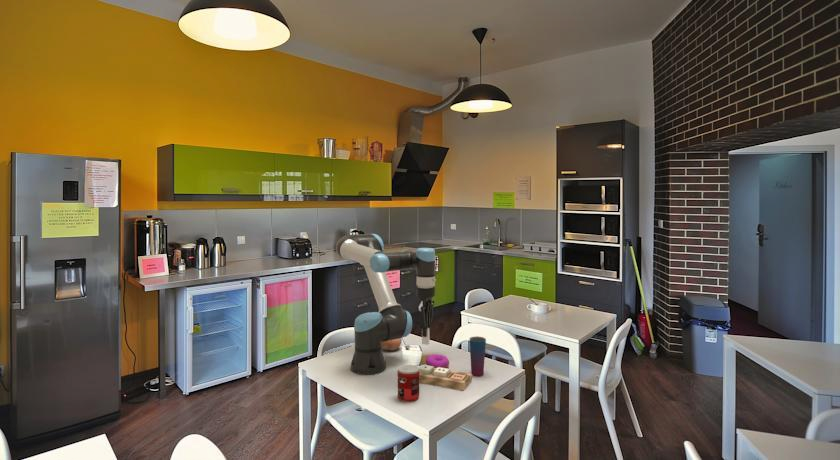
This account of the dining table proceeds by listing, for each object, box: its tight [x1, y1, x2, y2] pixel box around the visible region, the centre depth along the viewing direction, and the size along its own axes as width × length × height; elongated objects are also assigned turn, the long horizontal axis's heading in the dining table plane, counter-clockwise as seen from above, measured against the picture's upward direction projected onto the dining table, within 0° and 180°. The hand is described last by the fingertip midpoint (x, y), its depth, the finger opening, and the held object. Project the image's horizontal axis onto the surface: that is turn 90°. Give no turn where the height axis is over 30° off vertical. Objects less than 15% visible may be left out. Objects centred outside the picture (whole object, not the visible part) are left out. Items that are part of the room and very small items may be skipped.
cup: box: [469, 335, 487, 377], centre depth 187 cm, size 7×7×15 cm
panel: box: [419, 368, 473, 391], centre depth 180 cm, size 22×10×3 cm, turn 66°
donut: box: [425, 353, 450, 368], centre depth 196 cm, size 10×10×4 cm
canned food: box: [397, 364, 420, 403], centre depth 165 cm, size 8×8×11 cm
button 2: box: [434, 367, 450, 378], centre depth 180 cm, size 5×5×2 cm
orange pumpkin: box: [382, 338, 402, 351], centre depth 218 cm, size 11×11×8 cm
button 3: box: [450, 373, 466, 381], centre depth 177 cm, size 5×5×2 cm
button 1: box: [418, 364, 434, 375], centre depth 183 cm, size 5×5×2 cm
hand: (425, 343), depth 182 cm, fingers closed
